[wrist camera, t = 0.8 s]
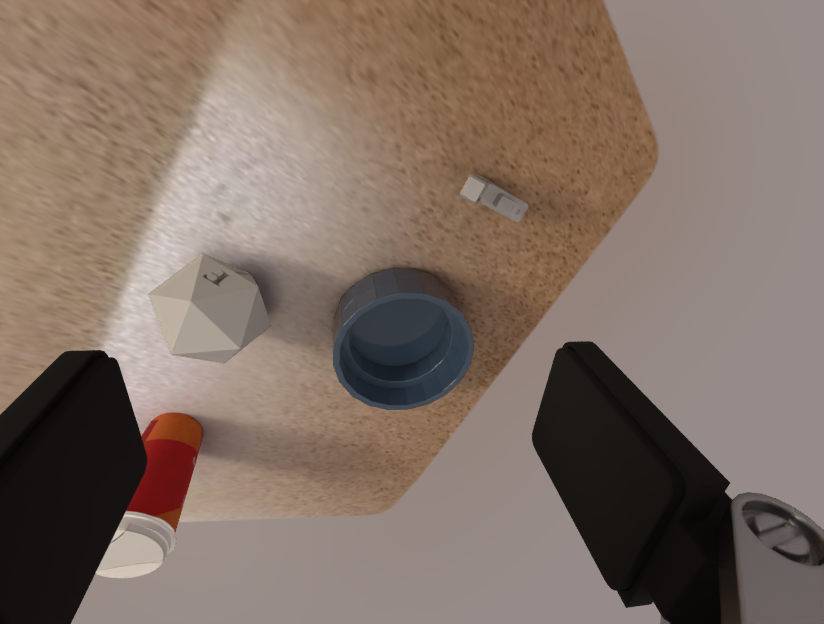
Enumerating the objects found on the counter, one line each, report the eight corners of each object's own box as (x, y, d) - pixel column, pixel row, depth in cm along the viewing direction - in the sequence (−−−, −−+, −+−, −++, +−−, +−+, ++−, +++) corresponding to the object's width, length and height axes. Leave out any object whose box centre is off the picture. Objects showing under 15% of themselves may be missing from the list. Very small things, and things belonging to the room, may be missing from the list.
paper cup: (163, 463, 48) (106, 591, 36) (122, 418, 45) (42, 545, 33) (227, 442, 48) (190, 564, 36) (191, 395, 44) (136, 514, 32)
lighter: (511, 193, 39) (548, 218, 32) (501, 209, 40) (535, 237, 33) (447, 156, 36) (473, 175, 30) (438, 175, 37) (460, 197, 30)
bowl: (360, 247, 39) (364, 272, 34) (479, 289, 44) (498, 318, 38) (316, 356, 44) (314, 393, 39) (426, 385, 49) (436, 421, 44)
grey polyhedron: (294, 302, 42) (274, 281, 32) (243, 380, 40) (204, 383, 30) (220, 258, 41) (177, 222, 32) (166, 334, 40) (102, 322, 30)
